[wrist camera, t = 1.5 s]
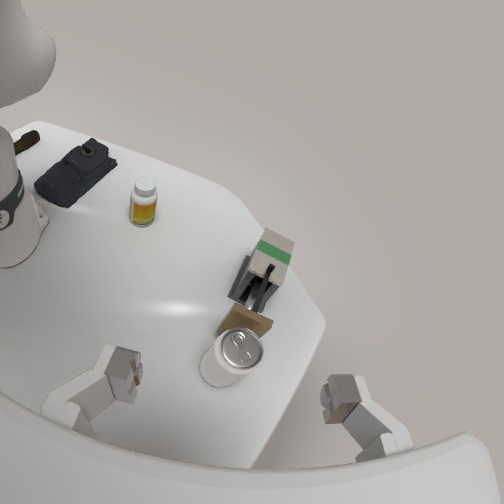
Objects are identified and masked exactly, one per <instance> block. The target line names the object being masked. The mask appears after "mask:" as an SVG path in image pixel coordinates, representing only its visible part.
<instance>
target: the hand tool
mask: <svg viewBox="0 0 504 504" xmlns="http://www.w3.org/2000/svg"><path fill="white" fill-rule="evenodd" d="M39 140H40V135H39V133H38V132H37V131H36V130H32V131H30V132H28V133H25V134H24V135H22V136H21V139H19V140H18V141H16V142H15V143H13V144H14V151H15V154H17V153H18V152H20V151H22V150H27V149H29V148H30V147H32V146H33V145H34V144H36V143H37V142H38V141H39Z"/></svg>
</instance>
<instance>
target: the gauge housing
mask: <svg viewBox="0 0 504 504" xmlns="http://www.w3.org/2000/svg"><path fill="white" fill-rule="evenodd" d="M293 246H294V242H293V241H291V240H289V239H287V238H285V237H283V236H281V235H279V234H278V233H276V232H274V231H272V230H270V229H268V228H265V230H264V232H263V235H262V237H261V239H260V240H259V242H258V244H257V245H256V247H255V249H254V250H253V252H252V253H251V255H250V257H249V256H247V255H246V257H245V259H244V261H243V263H242V266H241V268H240V270H239V272H238V274H237V277H236V279H235V281H234V283H233V286H232V288H231V290H230V292H229V295H228V297H229V298H231V299H233V300H235V301H237V302H239V303H241V304H243V305H245V304H246V301H247V299H248V296H249V294H250V291H251V288H252V286H253V283H254V282H259V283H261V282H262V280H263V277H264V274H265V271H266V269H267V267H268V265H269V264H270V263H271V264H273V265H275V266H276V267H275V269H274V270H273V272H271V275H270V278H269V280H268V283H267V286H266V289H265V292H264V295H263V298H262V301H261V304H260V306H259V309H258V312H260V313H261V312H262V311H263V310H264V307H265V304H266V302H267V300H268V299H269V298H270V297H271V296H272V295H273V294H274V292H275V291H276V290H277V289H278V288H279V287H281V286H282V285H283V281H284V278H285V274H286V271H287V267H288V265H289V262H290V258H291V253H292V250H293Z"/></svg>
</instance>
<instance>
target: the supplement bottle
mask: <svg viewBox="0 0 504 504" xmlns="http://www.w3.org/2000/svg"><path fill="white" fill-rule="evenodd" d="M157 196H158V195H157V191H156V182H155V181H154V180H153V179H152V178H149V177H142V178H139V179H138V180H137V181H136V183H135V188H134V189H133V190H132V192H131V199H130V214H129V218H130V221H131V222H132V223H133V224H134V225H136V226H139V227H146V226H148V225H150V224H151V223H152V222H153V220H154V215H155V208H156V202H157Z"/></svg>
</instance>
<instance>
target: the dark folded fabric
mask: <svg viewBox="0 0 504 504" xmlns="http://www.w3.org/2000/svg"><path fill="white" fill-rule="evenodd" d="M108 149H109V148H108V147H106V146H105V145H103V144H101V143H99V142H97V141H96V140H95V139H94V138H91V139H89V140H88V141H87V142H85V144H82V146H77V147H75V148H74V149H72V150H71V151H70V152H69V153H68V154H67V155H66V156H65V157H64V158H63V159H62V160H61V161H59V162H57V163H56V164H54V165H53V166H52V167H51V168H50V169H49V170H47V172H46V173H45V174H44V175H43V176H41V177H40V178H39V179H37V181H36V182H35V183H34V187H35V189H36V190H37V191H39V192H40V193H41V194H42V195H43V196H45V197H47V198H48V199H49V200H50V201H51V202H54V203H55V204H57V205H59V206H62V207H67V208H69V207H70V206H71V205H73V204H74V203H75V202H76V201H77V200H78V199H79V198H80V197H82V196H83V195H84V194H85V193H86V192H87V191H89V190H90V189H91V188H92V187H93V186H94V185H95V184H96V183H97V182H99V181H100V180H101V179H102V178H103V177H104V176H105V175H106V174H108V173H109V172H110V171H111V170H112V169H114V168H115V167H116V166H117V163H116V162H115V161H116V159H112V158H110V157H108V153H109V152H108Z"/></svg>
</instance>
